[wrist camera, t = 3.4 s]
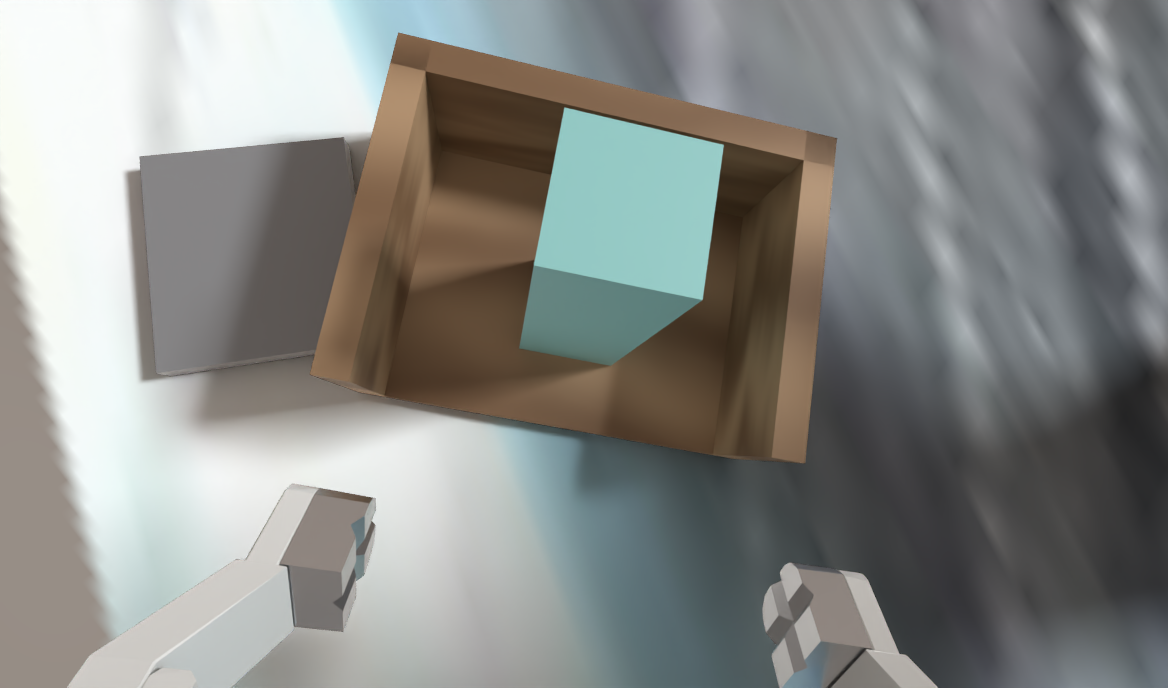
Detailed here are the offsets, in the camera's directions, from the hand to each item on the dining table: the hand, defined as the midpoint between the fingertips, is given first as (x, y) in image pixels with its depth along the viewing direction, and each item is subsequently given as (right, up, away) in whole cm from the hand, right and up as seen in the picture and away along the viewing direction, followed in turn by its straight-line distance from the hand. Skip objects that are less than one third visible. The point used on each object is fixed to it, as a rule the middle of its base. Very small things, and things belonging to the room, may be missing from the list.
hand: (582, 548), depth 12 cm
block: (0, +5, +14) cm, 15 cm away
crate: (0, +6, +15) cm, 16 cm away
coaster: (-14, +8, +14) cm, 21 cm away
